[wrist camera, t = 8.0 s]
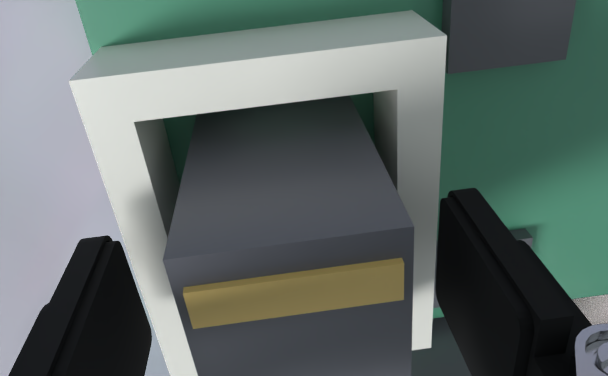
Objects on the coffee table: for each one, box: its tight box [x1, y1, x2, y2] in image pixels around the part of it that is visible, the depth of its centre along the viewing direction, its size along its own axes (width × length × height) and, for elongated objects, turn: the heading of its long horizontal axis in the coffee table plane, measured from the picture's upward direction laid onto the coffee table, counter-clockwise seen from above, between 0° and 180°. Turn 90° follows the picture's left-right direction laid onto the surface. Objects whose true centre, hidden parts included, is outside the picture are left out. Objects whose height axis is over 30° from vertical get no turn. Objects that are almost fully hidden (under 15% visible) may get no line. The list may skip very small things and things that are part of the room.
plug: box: [163, 95, 414, 376], centre depth 12 cm, size 4×6×6 cm
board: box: [69, 0, 608, 376], centre depth 14 cm, size 17×12×3 cm
